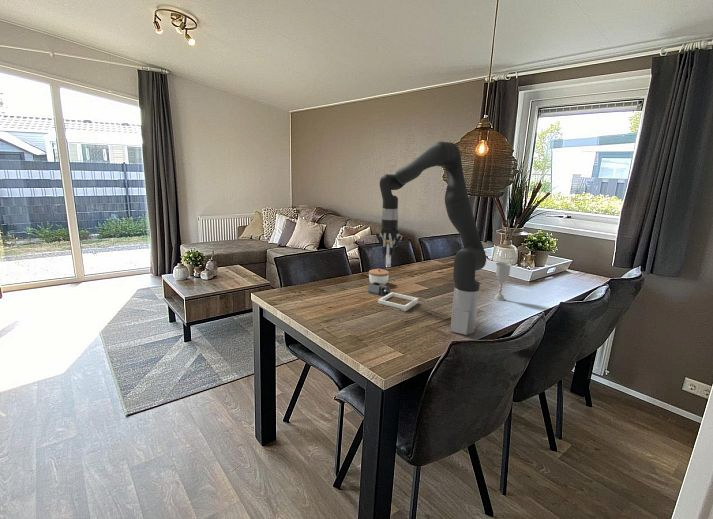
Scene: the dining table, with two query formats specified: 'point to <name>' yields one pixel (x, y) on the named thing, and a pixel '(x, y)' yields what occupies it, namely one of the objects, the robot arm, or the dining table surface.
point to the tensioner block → (378, 289)
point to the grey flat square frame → (402, 307)
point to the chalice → (502, 277)
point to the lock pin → (388, 254)
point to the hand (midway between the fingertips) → (388, 254)
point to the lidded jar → (378, 275)
